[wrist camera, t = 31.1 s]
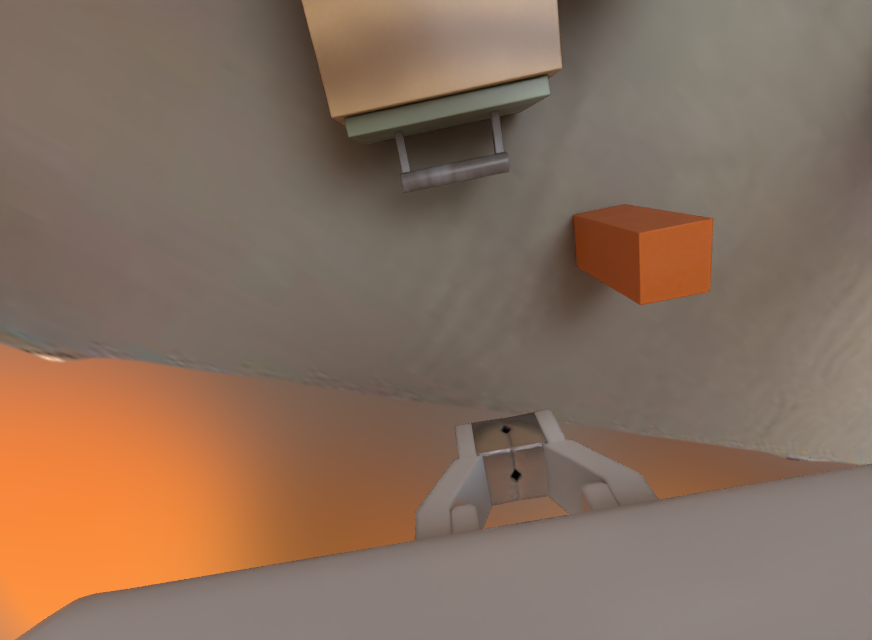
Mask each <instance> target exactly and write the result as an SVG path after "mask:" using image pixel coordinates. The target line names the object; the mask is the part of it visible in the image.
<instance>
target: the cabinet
mask: <svg viewBox="0 0 872 640" xmlns="http://www.w3.org/2000/svg"><path fill="white" fill-rule="evenodd" d="M302 4H303V8H304V12H305V16H306V20H307V24H308V28H309V32H310V36H311V40H312V43H313V47H314V51H315V55H316V59H317V63H318V67H319V71H320V75H321V79H322V83H323V86H324V90H325V94H326V98H327V102H328V106H329V110H330V114H331V117H332V118H333V119H335V120H336V121H338V122H340V123H341V124H343V125H345V122H344V118H346V117H351V116H356V115H360V114H365V113H370V112H374V111H379V110H384V109H389V108H393V107H398V106H403V105H407V104H412V103H417V102H421V101H426V100H431V99H435V98H440V97H445V96H450V95H454V94H459V93H464V92H468V91H473V90H478V89H482V88H487V87H492V86H496V85H501V84H506V83H511V82H515V81H520V80H525V79H529V78H534V77H539V76H543V75H548V76H549V78H550V77H552V76H553V75H554V74H556V73H557V72H558V71H560V70H561V69H562V54H561V41H560V27H559V14H558V0H302Z"/></svg>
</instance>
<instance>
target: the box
mask: <svg viewBox="0 0 872 640" xmlns="http://www.w3.org/2000/svg"><path fill="white" fill-rule="evenodd" d="M573 217H574V230H575V243H576V257H577V267H578V268H580V269H582V270H583V271H585V272H587V273H588V274H590V275H592V276H593V277H595V278H597V279H598V280H600V281H602V282H603V283H605V284H607V285H608V286H610V287H611V288H613V289H615V290H616V291H618V292H620V293H621V294H623V295H625V296H626V297H628V298H630V299H631V300H633V301H635V302H636V303H638V304H639V305H644V304H649V303H654V302H659V301H664V300H670V299H675V298H680V297H685V296H690V295H695V294H700V293H706V292H710V283H711V259H712V235H713V218H708V217H701V216H695V215H689V214H683V213H676V212H670V211H664V210H658V209H651V208H645V207H639V206H633V205H626V204H623V205H618V206H613V207H608V208H604V209H599V210H594V211H589V212H584V213H579V214H574V215H573Z"/></svg>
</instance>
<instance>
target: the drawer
mask: <svg viewBox="0 0 872 640" xmlns="http://www.w3.org/2000/svg"><path fill="white" fill-rule="evenodd" d="M549 95H550V85H549V76H548V75H543V76H539V77H534V78H529V79H525V80H520V81H515V82H511V83H506V84H501V85H496V86H492V87H487V88H482V89H478V90H473V91H468V92H464V93H459V94H454V95H450V96H445V97H440V98H435V99H431V100H426V101H421V102H417V103H412V104H407V105H403V106H398V107H393V108H389V109H384V110H379V111H374V112H370V113H365V114H360V115H356V116H351V117H346V118H344V122H345V126H346V130H347V134H348V137H349V138H351V139H353V140H355V141H357V142H360V143H362V144H364V145H366V144H371V143H376V142H380V141H385V140H390V139H396V144H397V149H398V154H399V159H400V163H401V168H402V172H403V173H402V174H400V177H401V182H402V187H403V191H404V193H407V192H412V191H417V190H422V189H427V188H432V187H437V186H441V185H446V184H451V183H456V182H461V181H466V180H471V179H475V178H480V177H485V176H490V175H495V174H500V173H505V172H509V168H510V165H509V157H508V154H507V152H504V147H503V139H502V131H501V123H500V116H504V115H509V114H513V113H518V112H522V111H524V110H525V109H527V108H529V107H530V106H532V105H534V104H536V103H537V102H539V101H541V100H542V99H544V98H546V97H547V96H549ZM485 119H490V121H491V128H492V136H493V143H494V151H495V154H493V155H489V156H484V157H479V158H474V159H469V160H464V161H460V162H455V163H450V164H445V165H440V166H436V167H431V168H426V169H421V170H416V171H411V172H410V166H409V161H408V156H407V151H406V146H405V141H404V136H409V135H414V134H418V133H423V132H428V131H433V130H437V129H442V128H447V127H452V126H456V125H461V124H466V123H471V122H475V121H480V120H485Z"/></svg>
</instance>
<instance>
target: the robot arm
mask: <svg viewBox="0 0 872 640" xmlns="http://www.w3.org/2000/svg"><path fill="white" fill-rule="evenodd" d="M471 425H472V427H471ZM472 431H473V432H472ZM455 435H456V444H457V452H458V459H456V460H454V461H453V462H452V463H451V465H450V466H449V467H448V469H447V470H446V471H445V473H444V474H443V475H442V477H441V478H440V479H439V481H438V482H437V484H436V485H435V486H434V488H433V489H432V490H431V492H430V493H429V494H428V496H427V497H426V498H425V500H424V501H423V502H422V504H421V505H420V506H419V508H418V509H417V511H416V517H415V518H416V519H415V541H410V542H404V543H398V544H392V545H386V546H380V547H374V548H368V549H362V550H356V551H350V552H344V553H339V554H332V555H327V556H321V557H315V558H309V559H303V560H297V561H291V562H285V563H279V564H273V565H267V566H261V567H256V568H249V569H244V570H237V571H231V572H225V573H220V574H214V575H208V576H202V577H196V578H190V579H184V580H178V581H173V582H166V583H160V584H155V585H148V586H143V587H137V588H131V589H125V590H117V591H111V592H103V593H96V594H92V595H89V596H85V597H82V598H79V599H77V600H75V601H73V602H71V603H70V604H68V605H66V606H65V607H63V608H62V609H60V610H58V611H57V612H55V613H54V614H52V615H51V616H49V617H47V618H46V619H44V620H43V621H41V622H40V623H38V624H37V625H36V626H34V627H33V628H31V629H30V630H29V631H27V632H26V633H24V634H23V635H21V636H20V637H18V638H17V639H16V640H872V464H867V465H861V466H855V467H849V468H844V469H838V470H832V471H826V472H820V473H814V474H808V475H802V476H796V477H790V478H784V479H778V480H772V481H766V482H760V483H754V484H748V485H742V486H736V487H730V488H724V489H719V490H712V491H706V492H700V493H694V494H689V495H683V496H677V497H671V498H665V499H658V497H657V496H656V495H655V493H654V492H653V491H652V489H651V488H650V486H649V485H648V484H647V482H646V481H645V479H644V478H643V477H642V475H641V474H640V473H638V472H636V471H634V470H632V469H630V468H628V467H626V466H624V465H622V464H620V463H618V462H616V461H614V460H612V459H610V458H608V457H606V456H604V455H602V454H600V453H598V452H596V451H594V450H592V449H590V448H588V447H586V446H584V445H582V444H580V443H578V442H576V441H574V440H572V439H570V440H566V438H565V436H564V434H563V432H562V430H561V429H560V427H559V425H558V423H557V421H556V419H555V417H554V415H553V413H552V412H551V410H550V409H545V410H541V411H536V412H533V413H528V414H523V415H518V416H513V417H507V418H500V419H493V420H487V421H481V422H475V423H471V424H470V423H468V424H463V425H457V426H455ZM545 496H549V497H550V498H551V499H552V500H553V501H554V502H556V503H557V504H558V505H559V506H560V507H562V508H563V509H564V510H565V511H566V512H567V513H569V514H570V515H565V516H558V517H553V518H547V519H540V520H535V521H529V522H522V523H516V524H511V525H505V526H499V527H493V528H487V529H483V527H484V525H485V523H486V520H487V518H488V516H489V513H490V511H491V508H492V506H493V505H498V504H503V503H508V502H513V501H518V500H525V499H532V498H539V497H545Z"/></svg>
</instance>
